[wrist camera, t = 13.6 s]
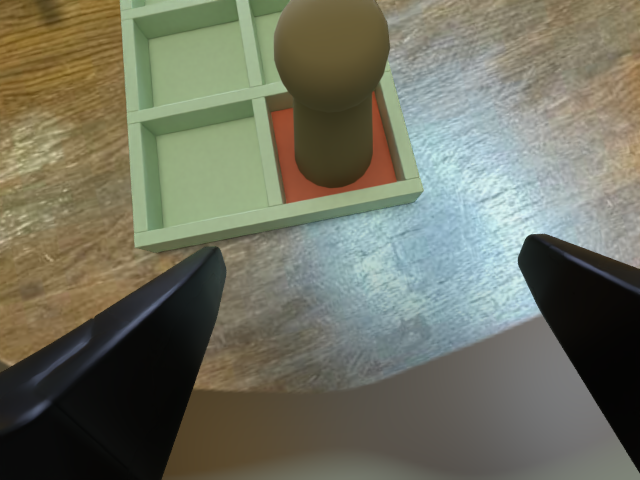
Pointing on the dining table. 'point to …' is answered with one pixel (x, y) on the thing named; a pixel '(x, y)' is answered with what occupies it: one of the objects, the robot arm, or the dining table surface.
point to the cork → (332, 83)
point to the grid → (233, 129)
